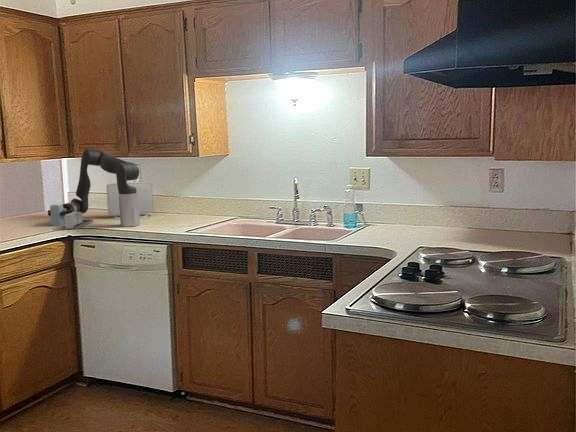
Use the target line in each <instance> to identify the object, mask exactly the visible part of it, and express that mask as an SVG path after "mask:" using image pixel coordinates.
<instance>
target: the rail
mask: <svg viewBox="0 0 576 432" xmlns="http://www.w3.org/2000/svg"><path fill="white" fill-rule="evenodd" d="M93 222H94V219H92V218H91V219H83V213H82V212H72V213H70V214H67V215H65V216H64V225H62V227H61V230H78V229H81V228H83V227H86V226H88V225H90V224H93Z"/></svg>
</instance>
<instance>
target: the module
mask: <svg viewBox="0 0 576 432" xmlns="http://www.w3.org/2000/svg"><path fill="white" fill-rule="evenodd" d="M63 204H64V203H53V204H51V205H49V210H50V213H51V216H50V221H51V222H50V226H51V227H61V226H62V227H63V226H65V220H64V215H63V216H61V212H62V211H63Z"/></svg>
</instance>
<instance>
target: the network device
mask: <svg viewBox="0 0 576 432" xmlns="http://www.w3.org/2000/svg"><path fill="white" fill-rule="evenodd" d="M127 184H128V185H129V186H132V187H135V188H136V190H137V207H139V217H140V218H147V217H149V216H148V214H152V213H153V212H154V196H153V195H154V194H153V184H152V182H150V181H139V182H138V181H137V182H127ZM105 187H106V199H107V200H106V202H107V203H106V204H107V214H108V215H109V216H113V217H114V218H113V219H115V220H118V219H119V220H120V209H119V192H118V187H117V182H115V183H108V184H106V186H105Z"/></svg>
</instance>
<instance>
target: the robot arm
mask: <svg viewBox="0 0 576 432" xmlns="http://www.w3.org/2000/svg"><path fill="white" fill-rule="evenodd" d="M88 166H99V167H100V169H102V170H103V171H104V172H106V173H109V174H114V175H115V177H116V183H117V187H118V192H119V209H120V215H119V216H120V219H119V221H120V222H119V223H120V227H125V228H126V227H136V226H139V225H140V224H141V223H140V222H141V221H140V220H141V219H140V218H141V217H139V207H137V190H136V188H135V187H132V186H129V185H128V184H127V183H128V181H134V180H136V179H138V178H139V176H140V168H139V166H138V165H137V164H136V163H134V162H130V161H125V160H123V159H120V158H118V157H116V156H113V155H110V154H107V153H105V152H103V151H101V150H99V149H94V148H85V149H84V150H83V151H82V154H81V160H80V166H79V168H80V169H79V179H78V183H77V188H76V191H75V196H76V197H78V198H72V199H71V201H70V202H66V203H62V204H63V211H62V212H61V216H63V215H64V216H65V215H67V214H70V213H72V212H82V214H85V213H87V211H89V195H90V190H91V185H92V184H91V180H90V176H89V174H88ZM47 216H49V217H51V213H50V209H49V210H47Z"/></svg>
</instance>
